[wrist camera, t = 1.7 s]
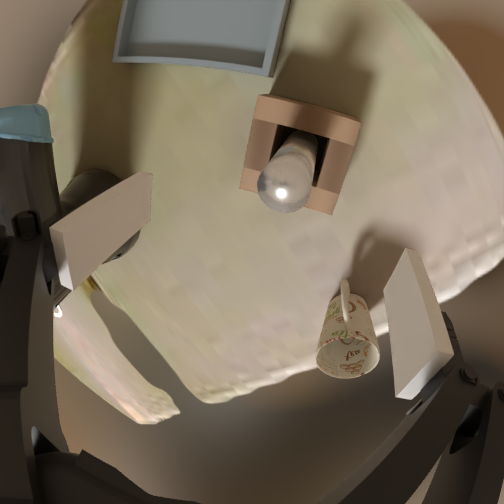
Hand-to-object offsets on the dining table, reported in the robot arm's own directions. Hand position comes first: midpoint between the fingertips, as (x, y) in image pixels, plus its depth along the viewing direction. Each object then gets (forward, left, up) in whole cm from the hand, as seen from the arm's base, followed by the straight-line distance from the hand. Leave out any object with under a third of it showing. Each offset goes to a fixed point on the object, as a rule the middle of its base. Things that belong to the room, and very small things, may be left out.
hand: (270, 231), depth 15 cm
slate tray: (-15, +14, -22) cm, 30 cm away
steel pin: (0, 0, -22) cm, 22 cm away
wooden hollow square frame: (0, 0, -22) cm, 22 cm away
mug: (+12, -19, -23) cm, 32 cm away
